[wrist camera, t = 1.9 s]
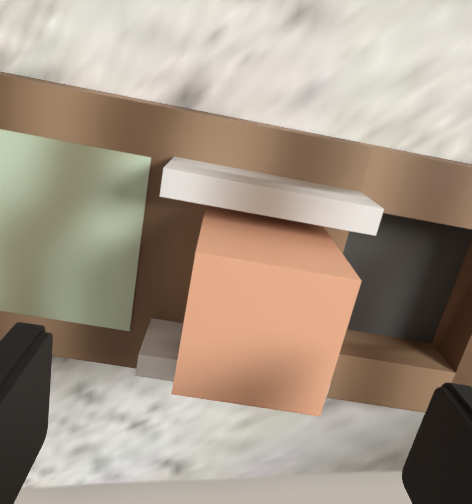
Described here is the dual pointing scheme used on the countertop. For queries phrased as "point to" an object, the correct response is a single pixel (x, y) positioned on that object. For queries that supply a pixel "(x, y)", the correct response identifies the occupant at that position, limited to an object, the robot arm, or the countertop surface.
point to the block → (264, 313)
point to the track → (190, 221)
